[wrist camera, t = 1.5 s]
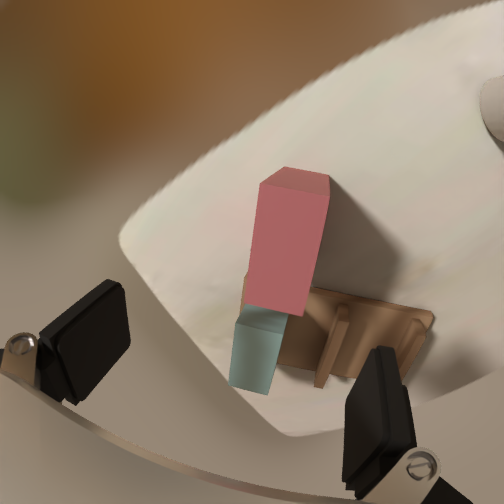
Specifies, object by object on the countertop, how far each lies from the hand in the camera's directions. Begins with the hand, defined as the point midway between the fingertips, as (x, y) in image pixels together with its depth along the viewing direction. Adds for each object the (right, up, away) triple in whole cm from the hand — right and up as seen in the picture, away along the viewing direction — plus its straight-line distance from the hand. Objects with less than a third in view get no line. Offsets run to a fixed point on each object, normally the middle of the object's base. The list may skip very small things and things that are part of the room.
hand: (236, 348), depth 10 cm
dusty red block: (+5, +7, +17) cm, 19 cm away
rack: (+9, -5, +20) cm, 23 cm away
